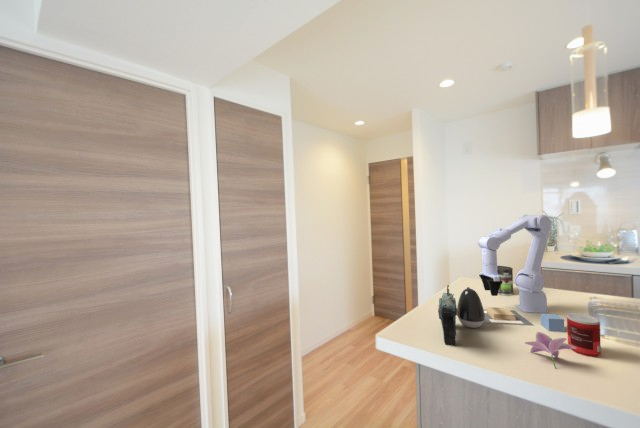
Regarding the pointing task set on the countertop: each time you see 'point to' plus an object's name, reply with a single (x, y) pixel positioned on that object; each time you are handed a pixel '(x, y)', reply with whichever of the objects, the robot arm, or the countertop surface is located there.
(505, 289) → the coffee can
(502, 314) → the oak slab
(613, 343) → the countertop surface
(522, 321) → the letter card
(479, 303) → the black egg shaped container
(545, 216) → the robot arm
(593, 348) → the canned food
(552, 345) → the lily
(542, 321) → the blue cube
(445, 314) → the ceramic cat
